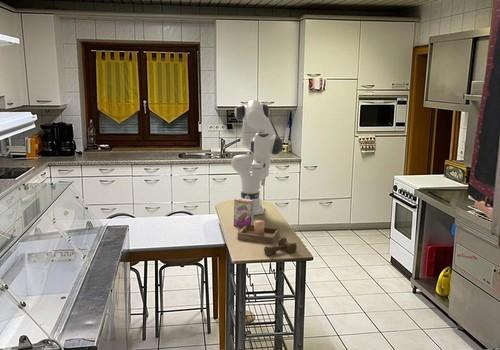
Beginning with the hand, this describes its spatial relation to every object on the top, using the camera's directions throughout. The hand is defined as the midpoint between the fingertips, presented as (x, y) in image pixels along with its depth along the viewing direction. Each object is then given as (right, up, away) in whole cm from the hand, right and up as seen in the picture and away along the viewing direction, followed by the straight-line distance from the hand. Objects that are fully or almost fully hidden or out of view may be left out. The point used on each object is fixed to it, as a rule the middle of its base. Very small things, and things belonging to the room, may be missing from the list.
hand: (260, 187), depth 245 cm
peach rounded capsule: (-1, -27, +6) cm, 28 cm away
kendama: (+11, -33, -15) cm, 38 cm away
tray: (-1, -28, +6) cm, 29 cm away
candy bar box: (-10, -24, +24) cm, 36 cm away
